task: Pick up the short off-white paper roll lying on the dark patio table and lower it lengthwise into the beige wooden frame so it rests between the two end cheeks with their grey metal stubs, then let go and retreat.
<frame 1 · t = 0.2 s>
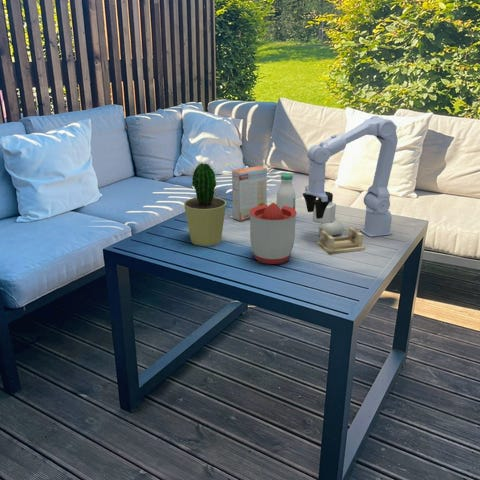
hand: (314, 214, 187), 10 cm above the table, fingers open, 7 cm apart
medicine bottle: (323, 220, 211), on the table
potted cactus: (206, 240, 190), on the table
milk bottle: (285, 222, 209), on the table
beige wooden frame: (340, 246, 184), on the table
citrus juicer: (272, 257, 176), on the table
cracker box: (249, 217, 215), on the table
roll: (330, 235, 195), on the table
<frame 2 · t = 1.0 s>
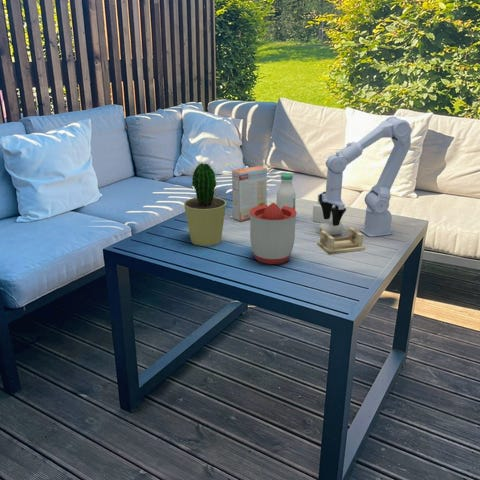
hand: (331, 222, 193), 5 cm above the table, fingers open, 7 cm apart
roll: (330, 235, 195), on the table, tilted 9°
everything else where it was.
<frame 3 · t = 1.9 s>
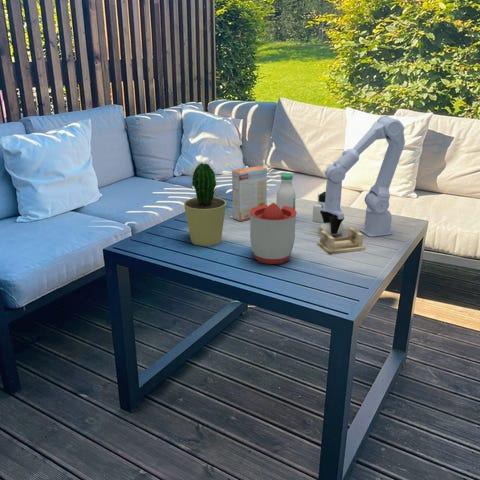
hand: (330, 231, 195), 2 cm above the table, fingers closed on roll, 5 cm apart
roll: (330, 235, 195), on the table, touching gripper
everything else where it was.
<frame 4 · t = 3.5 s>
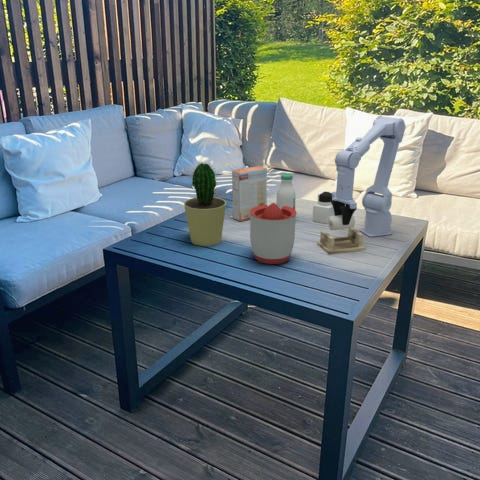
hand: (342, 222, 181), 9 cm above the table, fingers closed on roll, 5 cm apart
roll: (340, 228, 182), point 7 cm above the table, tilted 9°, touching gripper
everything else where it was.
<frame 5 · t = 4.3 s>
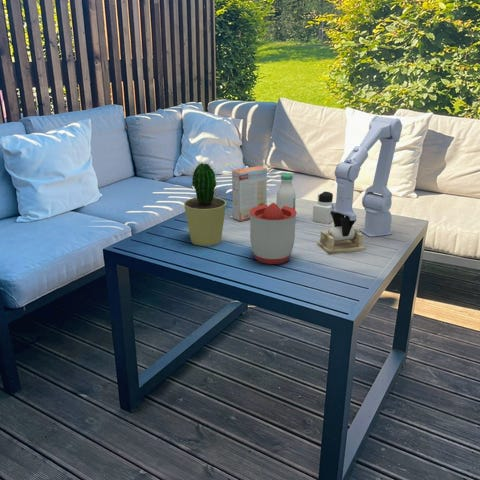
hand: (341, 233, 182), 5 cm above the table, fingers closed on roll, 5 cm apart
roll: (340, 239, 183), point 3 cm above the table, tilted 9°, touching gripper
everything else where it was.
when the fingers open (4 cm above the table, at t = 5.1 s): roll stays where it is, resting on beige wooden frame.
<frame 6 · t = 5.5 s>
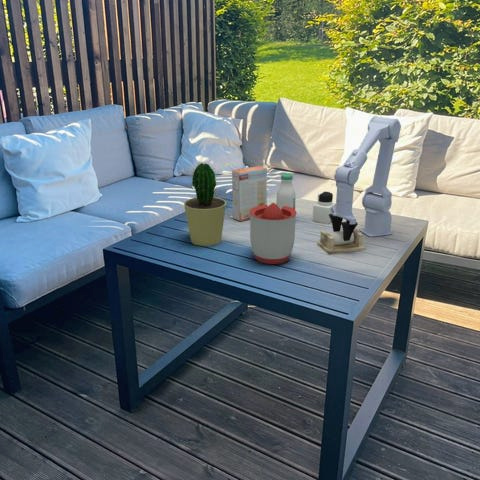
hand: (341, 236, 183), 4 cm above the table, fingers open, 7 cm apart
roll: (339, 244, 184), point 1 cm above the table, tilted 9°, touching beige wooden frame
everything else where it was.
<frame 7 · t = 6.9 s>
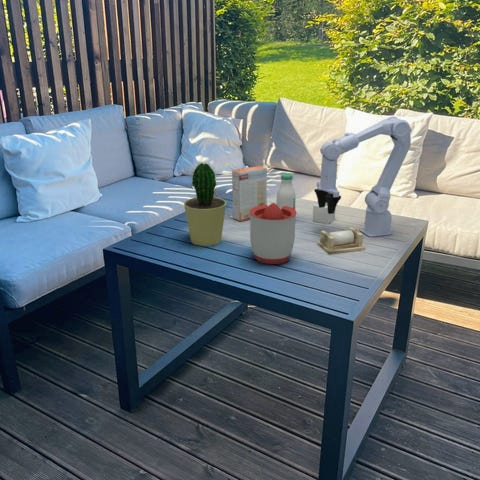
hand: (326, 210, 192), 10 cm above the table, fingers open, 7 cm apart
nothing on the table moved.
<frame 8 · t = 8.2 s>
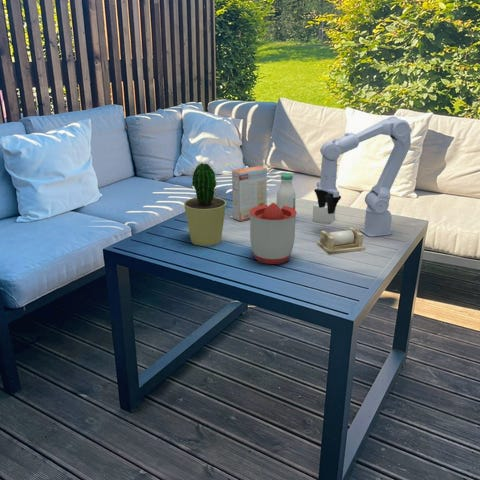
hand: (326, 210, 192), 10 cm above the table, fingers open, 7 cm apart
nothing on the table moved.
at the end: roll 0.5 cm off-centre on the beige wooden frame, point 1.0 cm above the beige wooden frame's base; the gripper is holding nothing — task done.
